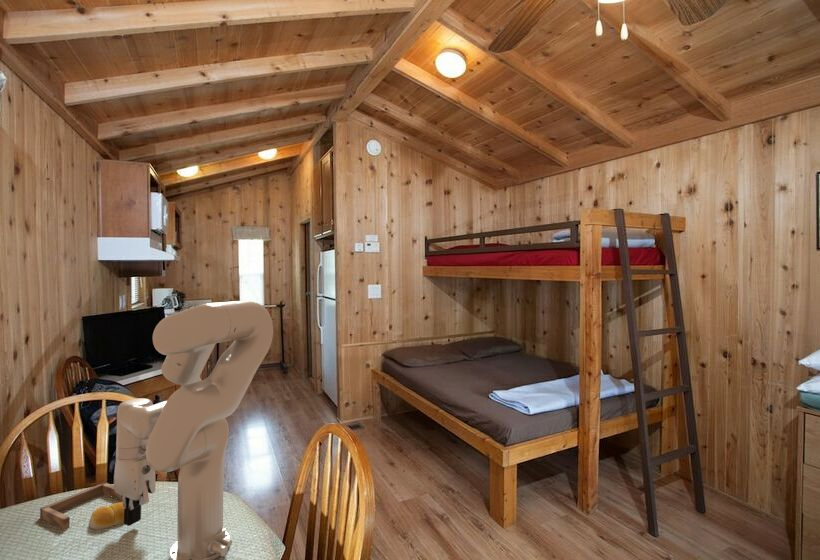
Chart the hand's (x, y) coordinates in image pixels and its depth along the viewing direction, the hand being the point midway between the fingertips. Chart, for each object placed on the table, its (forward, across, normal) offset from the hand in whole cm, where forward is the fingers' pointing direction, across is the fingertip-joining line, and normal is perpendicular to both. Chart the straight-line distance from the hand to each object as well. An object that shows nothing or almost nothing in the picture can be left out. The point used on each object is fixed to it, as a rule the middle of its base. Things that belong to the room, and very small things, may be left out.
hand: (132, 522), depth 104 cm
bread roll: (+2, +9, 0) cm, 9 cm away
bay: (+2, +20, 0) cm, 20 cm away
